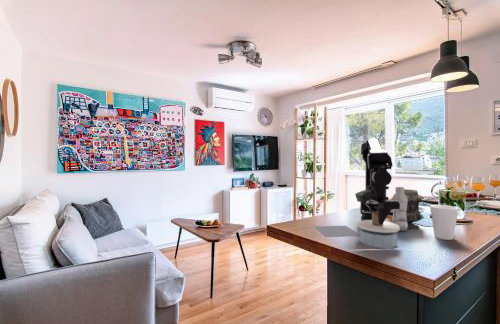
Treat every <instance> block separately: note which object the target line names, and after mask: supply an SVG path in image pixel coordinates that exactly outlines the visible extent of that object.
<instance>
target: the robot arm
mask: <svg viewBox="0 0 500 324" xmlns="http://www.w3.org/2000/svg"><path fill="white" fill-rule="evenodd" d="M360 156H361V159H362V160H363V162H364V163H365V182H364V184H365V189H363V190H361V191H358V192H356V193H355V194H354V195H355V198H356V201H357V203H358V202H359V203H360V205H359V213H360V221H361V220H372V211H378V217H379V224H383V223H384V221H386V219H387V218H388V216H389V215H390V213H391V211H393V209H400V203H399V202H398V201H395V200H392V199H390V196H387V190H390V189H389V188H390V187H389V186H388V185H390V183H391V182H392V178H393V177H392V174H391V173H390V172H389V171H388V170H392V168H393V162H392V161H393V160H392V157H391V156H390V154H389V153H388V151H387V150H385V149H383V148H382V145H381V143H380V140H379V139H377V138H368V139H366V141H365V142H363V143H362V144H361V145H360Z"/></svg>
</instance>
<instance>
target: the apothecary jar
mask: <svg viewBox="0 0 500 324" xmlns="http://www.w3.org/2000/svg"><path fill="white" fill-rule="evenodd" d="M404 191H405V192H404V194H405V195H406V196H407V198H408V203H407V211H406V216H407V223H408V228H407V230H418V229H420V226H419V225H418V224H415V222H419V221H420V220H422V219H423V214H422V213H421V211H420V206H419V204H420V203H421V202H422V200H423V197H422V196H421V195H419V192H418V190H416V189H409V188H408V189H405V188H404Z"/></svg>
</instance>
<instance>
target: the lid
mask: <svg viewBox="0 0 500 324" xmlns="http://www.w3.org/2000/svg"><path fill="white" fill-rule="evenodd" d="M356 226H357V228H359V229H360V228H361V229H364V230H368V231H373V232H381V233H393V232H397V233H398V232H400V231H399V230H400V227H399V226H398V225H396V224H394V223H392V221H387V220H385V221H384V223H383V224H379V217H378V211H372V220H361V219H360V220H358V221H357V222H356Z"/></svg>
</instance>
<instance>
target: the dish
mask: <svg viewBox="0 0 500 324" xmlns="http://www.w3.org/2000/svg"><path fill="white" fill-rule="evenodd" d="M359 234H360V236H359V242H360V243H362V244H364V245H366V246H370V247H373V248H375V249H377V250H394V249H395V248H396V247H397V246H398V232H393V233H381V232H373V231H368V230H364V229H361V228H359Z"/></svg>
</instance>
